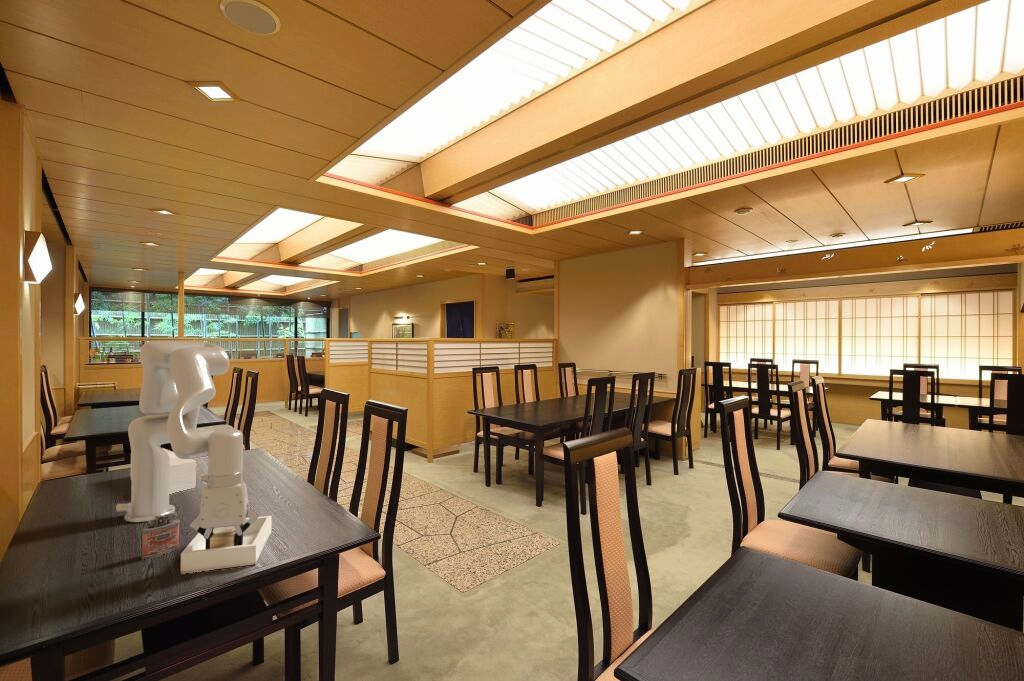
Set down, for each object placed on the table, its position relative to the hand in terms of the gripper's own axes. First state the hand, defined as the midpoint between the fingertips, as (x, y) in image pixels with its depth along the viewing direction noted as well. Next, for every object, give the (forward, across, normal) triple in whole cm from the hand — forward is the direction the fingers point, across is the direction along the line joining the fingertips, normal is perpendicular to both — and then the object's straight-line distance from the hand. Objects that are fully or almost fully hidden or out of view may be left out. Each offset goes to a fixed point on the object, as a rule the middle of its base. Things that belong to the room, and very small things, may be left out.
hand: (224, 549), depth 116 cm
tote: (+3, 0, +5) cm, 6 cm away
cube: (+1, 0, 0) cm, 1 cm away
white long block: (+4, -40, +76) cm, 86 cm away
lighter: (+3, -17, +9) cm, 20 cm away
